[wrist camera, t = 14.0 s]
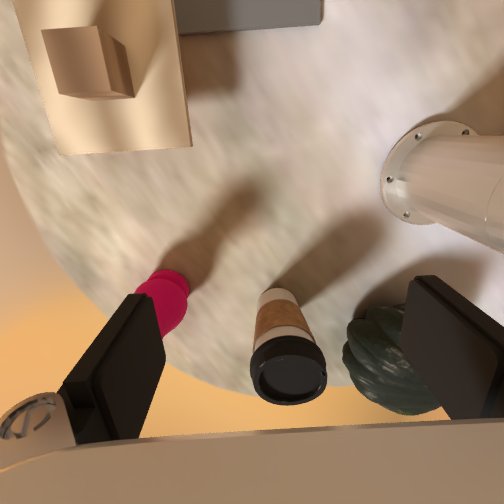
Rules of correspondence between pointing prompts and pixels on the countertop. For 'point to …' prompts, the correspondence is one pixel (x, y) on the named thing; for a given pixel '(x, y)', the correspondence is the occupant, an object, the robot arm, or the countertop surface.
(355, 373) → the squash
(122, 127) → the lid
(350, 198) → the countertop surface
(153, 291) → the pepper mill
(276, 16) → the tray
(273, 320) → the coffee cup
